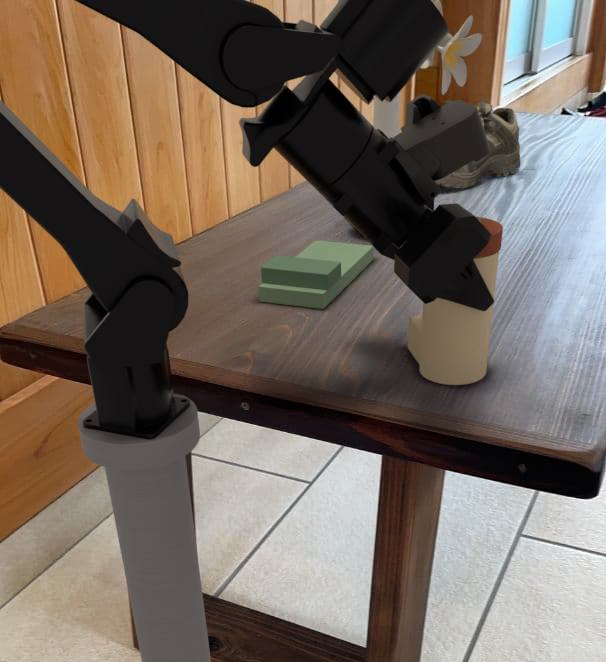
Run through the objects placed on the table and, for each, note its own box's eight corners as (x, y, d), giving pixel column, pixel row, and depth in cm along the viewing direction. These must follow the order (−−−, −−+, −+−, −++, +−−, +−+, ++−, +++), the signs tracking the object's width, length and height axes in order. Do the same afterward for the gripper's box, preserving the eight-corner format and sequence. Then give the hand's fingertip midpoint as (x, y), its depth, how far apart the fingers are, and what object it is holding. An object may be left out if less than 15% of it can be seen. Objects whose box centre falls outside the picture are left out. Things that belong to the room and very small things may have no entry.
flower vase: (444, 255, 97) (462, -4, 82) (299, 238, 104) (292, -5, 89) (477, 224, 106) (499, -13, 92) (342, 210, 113) (342, -13, 99)
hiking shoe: (385, 169, 122) (427, 91, 113) (475, 160, 134) (518, 90, 125) (424, 213, 119) (469, 137, 110) (511, 200, 132) (559, 131, 123)
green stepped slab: (324, 309, 85) (324, 277, 83) (258, 301, 87) (256, 270, 85) (374, 259, 96) (374, 231, 95) (315, 254, 99) (314, 225, 97)
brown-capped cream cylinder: (497, 382, 70) (514, 233, 63) (429, 389, 70) (439, 240, 63) (464, 342, 77) (476, 204, 70) (402, 348, 76) (408, 210, 69)
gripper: (474, 79, 50) (611, 250, 59) (384, 46, 65) (503, 185, 74) (345, 227, 54) (491, 369, 62) (288, 163, 69) (412, 284, 77)
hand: (475, 293), depth 69 cm, fingers closed on brown-capped cream cylinder, 5 cm apart
